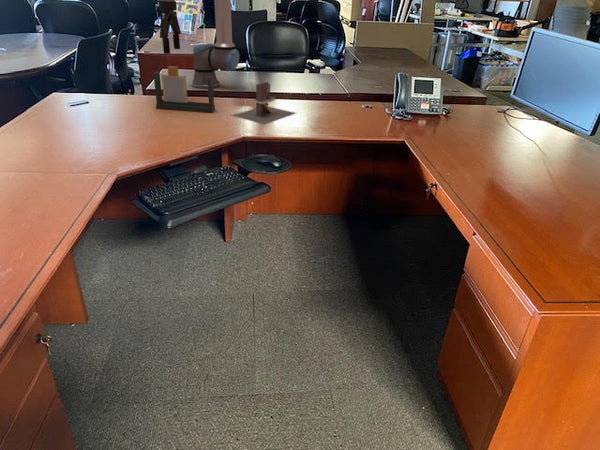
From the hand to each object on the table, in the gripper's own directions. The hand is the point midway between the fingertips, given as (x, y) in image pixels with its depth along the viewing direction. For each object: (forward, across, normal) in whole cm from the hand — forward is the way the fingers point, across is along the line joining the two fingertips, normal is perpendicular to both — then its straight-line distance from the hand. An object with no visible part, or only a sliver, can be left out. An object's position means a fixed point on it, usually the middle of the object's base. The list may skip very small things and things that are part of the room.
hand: (172, 51), depth 207 cm
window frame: (+26, +1, +5) cm, 27 cm away
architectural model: (+27, 0, +44) cm, 51 cm away
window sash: (+24, +1, 0) cm, 24 cm away
